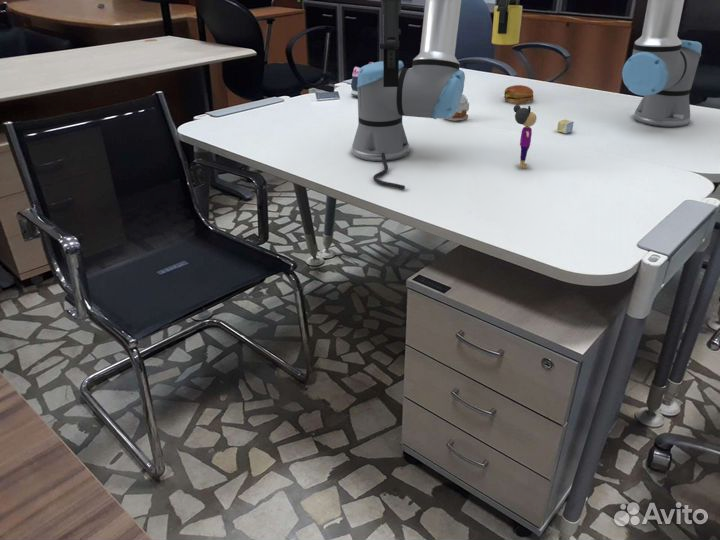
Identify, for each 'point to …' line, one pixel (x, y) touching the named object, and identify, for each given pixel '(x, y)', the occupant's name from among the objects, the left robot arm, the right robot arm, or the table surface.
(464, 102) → the cream topped cupcake
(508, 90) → the burger
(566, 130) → the alphabet block
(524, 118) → the toy
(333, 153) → the table surface
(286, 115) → the table surface
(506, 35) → the canister
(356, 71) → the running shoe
